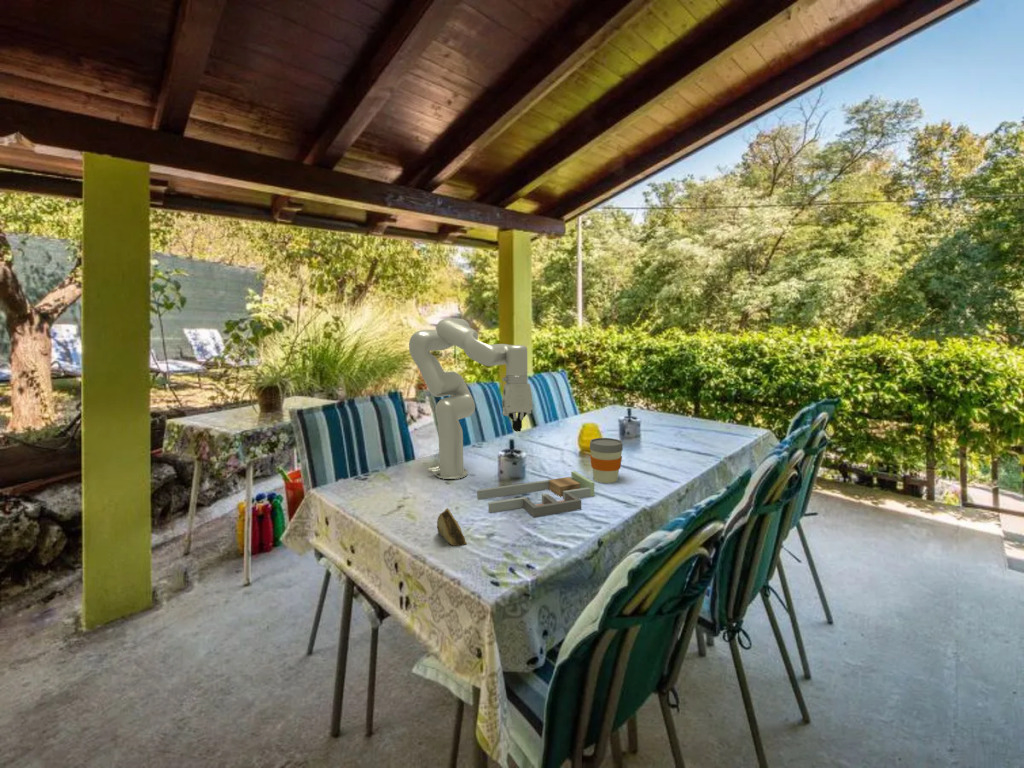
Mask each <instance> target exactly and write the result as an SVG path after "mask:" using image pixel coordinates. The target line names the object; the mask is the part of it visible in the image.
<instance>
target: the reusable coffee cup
mask: <svg viewBox="0 0 1024 768" xmlns="http://www.w3.org/2000/svg"><path fill="white" fill-rule="evenodd" d="M589 450H590V455H589V457H590V458H589V459H590V466H591V468H592V475H593V480H594V481H595V482H597V481H598V482H597V483H600V482H602V483H601V484H614V483H616V482H618V479H619V470H620V469H621V466H622V459H623V456H622V451H623V450H624V448H623V441H622V440H619V439H617V438H610V437H598V438H593V439H591V440H590V442H589ZM613 482H614V483H613Z"/></svg>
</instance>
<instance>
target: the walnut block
mask: <svg viewBox="0 0 1024 768" xmlns="http://www.w3.org/2000/svg"><path fill="white" fill-rule="evenodd" d="M569 477H570V476H565V477H559V479H558V478H553V480H551V479H548V480H549V489H548V490H549V491H550V490H551V491H550V492H552V493H553V492H554V493H553V494H554V495H556V494H557V495H556V496H558V495H559V496H560V498H562V497H561V496H563V491H567V490H573V489H580V483H578V482H576V481H574V480H573V479H571V478H569ZM559 496H558V497H559Z"/></svg>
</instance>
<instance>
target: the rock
mask: <svg viewBox="0 0 1024 768" xmlns="http://www.w3.org/2000/svg"><path fill="white" fill-rule="evenodd" d="M436 528H437V533H438V534H439V535H440V534H441V535H440V536H441V537H442V536H443V537H444V538H443V537H442V538H443V539H445V541H446V540H447V541H448V542H449V543H450V544H451V545H450V544H449V543H448V542H447V541H446V542H447V543H448V544H449V545H450V546H464V544H466V545H467V542H466V538H465V536H464V534H463V531H462V529H461V525H460V524H459V523H458V521H457V520H456V518H455V517H454V515H453V513H452V512H451V511H450V509H449V508H448V507H447V508H446V509H444V511H443V512H442V513H440V514H439V515H438V517H437V521H436Z"/></svg>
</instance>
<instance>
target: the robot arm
mask: <svg viewBox="0 0 1024 768" xmlns="http://www.w3.org/2000/svg"><path fill="white" fill-rule="evenodd" d="M453 346H456V347H458V348H459V349H462V350H463V352H464V354H466V356H467V357H468V358H469V359H471V360H473V361H474V362H476V363H478V364H481V365H483V366H486V367H494V366H502V365H505V368H506V369H505V374H506V375H505V377H502V382H505V383H504V386H503V391H502V400H501V401H502V415H503V416H505V417H509V418H510V419H511V420H512V429H513V431H514V432H517V433H518V432H522V428H523V423H522V421H523V420H524V418H525V417H526V416H528V415H531V414H532V410H533V393H532V388H531V384H530V383H528V347H527V346H526V345H524V344H507V343H494V344H488V343H485V342H483V341H481V340H479V334H478V332H477V331H476V330H475V329H473V328H471V326H470V324H469V322H468V321H467V320H465V319H463V318H455V317H454V318H451V317H449V318H443V319H441V320H439V321H438V322H437V324H436V327H435V329H421V330H418V331H415V332H414V333H413V334H412V335H411V336H410V338H409V343H408V348H409V349H408V350H409V354H410V356H411V358H412V360H413V362H414V364H415V365H416V366H417V368H418V369H419V372H420V375H421V377H422V380H423V381H424V383H425V385H426V388H427V389H428V391H429V393H430V395H432V396H433V397H435V398H440V397H441V398H442V397H444V398H442V399H440V400H439V401H438V402H437V403H436V405H435V410H434V412H435V416H436V421H437V430H438V453H439V455H438V456H439V457H438V458H439V459H438V460H439V461H438V462H439V463H437V465H435V466H434V467H432V466H431V467H430V466H429V467H427V473H432V474H435V476H437V477H439V478H438V479H440V478H443V479H442V480H444V479H455V480H460V478H461V479H463V477H464V478H465V476H466V477H467V476H468V471H467V469H464V435H463V433H464V432H463V428H462V426H461V423H460V421H459V420H462V419H465V418H469V417H471V416H472V415H473V414H474V413H475V409H476V404H475V400H474V398H473V396H472V394H471V392H470V389H469V388H468V385H467V384H466V382H465V380H464V378H463V376H462V375H461V374H460V373H458V372H456V371H445V370H444V369H443V368H442V366H441V363H440V361H439V359H438V358H437V357H436V356H435V355H433V353H431V352H436V351H445V350H447V349H450V348H451V347H453ZM437 477H436V478H437Z"/></svg>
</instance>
